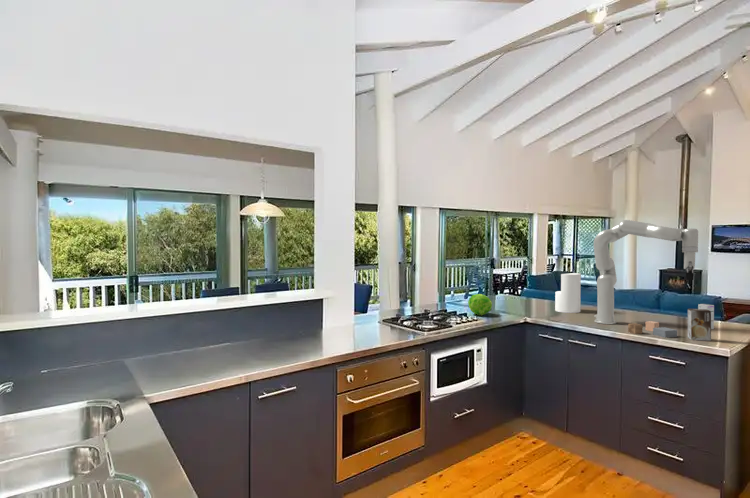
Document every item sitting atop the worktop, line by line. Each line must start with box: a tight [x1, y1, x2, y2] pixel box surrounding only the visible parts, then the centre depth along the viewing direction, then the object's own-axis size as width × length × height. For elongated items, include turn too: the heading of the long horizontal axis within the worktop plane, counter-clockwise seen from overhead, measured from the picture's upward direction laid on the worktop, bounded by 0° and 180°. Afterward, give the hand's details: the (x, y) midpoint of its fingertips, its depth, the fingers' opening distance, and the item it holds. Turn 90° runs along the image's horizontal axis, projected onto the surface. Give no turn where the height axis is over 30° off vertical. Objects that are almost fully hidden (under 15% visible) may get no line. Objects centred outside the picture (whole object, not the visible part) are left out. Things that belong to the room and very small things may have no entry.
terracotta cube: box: [645, 320, 660, 332], centre depth 262 cm, size 5×5×5 cm
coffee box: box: [687, 308, 712, 342], centre depth 238 cm, size 9×6×16 cm
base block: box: [652, 326, 678, 339], centre depth 248 cm, size 8×8×4 cm
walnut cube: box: [627, 322, 643, 335], centre depth 255 cm, size 5×5×5 cm
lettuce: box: [467, 293, 493, 316], centre depth 317 cm, size 17×20×15 cm
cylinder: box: [554, 272, 582, 314], centre depth 331 cm, size 17×17×28 cm
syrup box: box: [697, 303, 715, 330], centre depth 266 cm, size 6×6×14 cm
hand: (689, 279), depth 258 cm, fingers open, 9 cm apart
